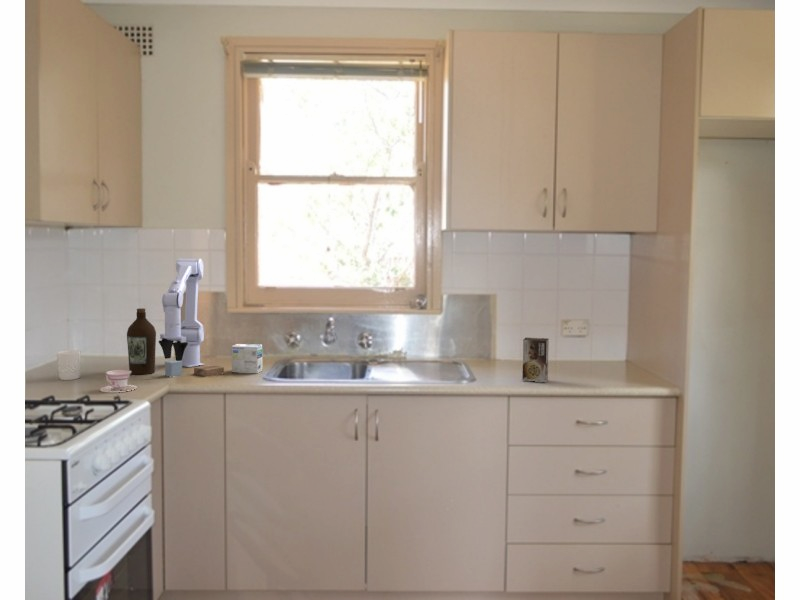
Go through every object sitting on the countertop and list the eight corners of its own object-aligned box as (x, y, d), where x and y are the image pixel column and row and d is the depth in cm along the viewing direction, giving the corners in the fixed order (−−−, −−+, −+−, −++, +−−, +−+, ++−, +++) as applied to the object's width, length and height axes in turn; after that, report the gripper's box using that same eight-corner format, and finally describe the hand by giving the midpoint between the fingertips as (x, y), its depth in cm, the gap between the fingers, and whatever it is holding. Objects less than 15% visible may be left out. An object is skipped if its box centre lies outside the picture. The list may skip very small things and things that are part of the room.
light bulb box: (263, 370, 280) (262, 344, 280) (257, 373, 274) (257, 346, 273) (237, 369, 282) (236, 343, 281) (231, 373, 275) (231, 345, 274)
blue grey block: (165, 375, 268) (164, 361, 267) (175, 374, 271) (175, 360, 271) (171, 377, 265) (171, 363, 265) (182, 375, 268) (181, 361, 268)
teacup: (143, 387, 248) (143, 369, 247) (125, 394, 236) (124, 376, 236) (112, 385, 250) (112, 368, 249) (92, 392, 238) (92, 374, 238)
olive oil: (135, 369, 279) (133, 307, 277) (161, 370, 278) (160, 307, 276) (122, 374, 268) (121, 309, 266) (149, 375, 268) (148, 310, 266)
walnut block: (194, 375, 272) (193, 367, 271) (211, 372, 278) (211, 364, 278) (206, 377, 267) (206, 370, 266) (223, 374, 273) (223, 367, 272)
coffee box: (548, 380, 268) (549, 338, 267) (545, 383, 262) (547, 340, 261) (524, 378, 271) (525, 336, 270) (521, 381, 265) (522, 339, 264)
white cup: (76, 375, 266) (75, 349, 265) (84, 378, 261) (83, 352, 260) (54, 378, 261) (53, 351, 260) (62, 381, 255) (61, 354, 254)
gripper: (152, 323, 268) (153, 358, 269) (174, 326, 259) (174, 362, 260) (169, 321, 273) (169, 356, 275) (190, 325, 264) (191, 360, 265)
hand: (173, 359), depth 268 cm, fingers open, 7 cm apart
